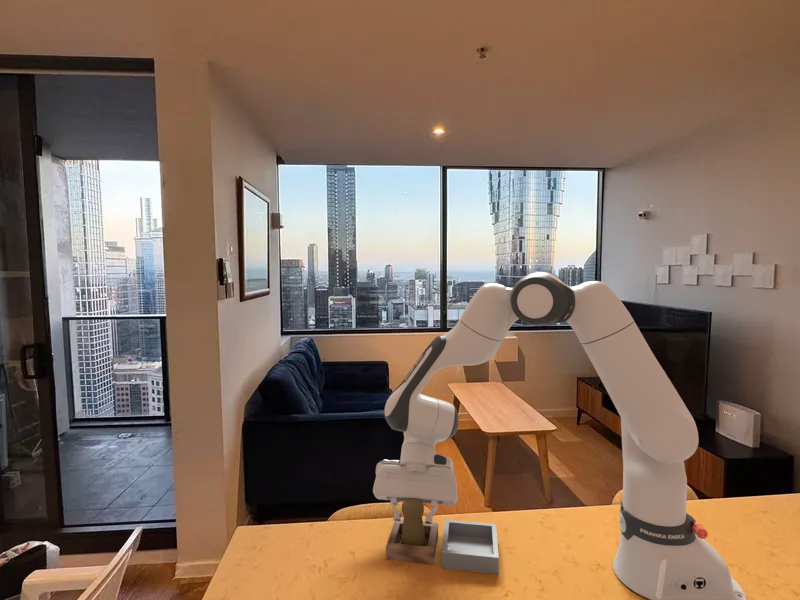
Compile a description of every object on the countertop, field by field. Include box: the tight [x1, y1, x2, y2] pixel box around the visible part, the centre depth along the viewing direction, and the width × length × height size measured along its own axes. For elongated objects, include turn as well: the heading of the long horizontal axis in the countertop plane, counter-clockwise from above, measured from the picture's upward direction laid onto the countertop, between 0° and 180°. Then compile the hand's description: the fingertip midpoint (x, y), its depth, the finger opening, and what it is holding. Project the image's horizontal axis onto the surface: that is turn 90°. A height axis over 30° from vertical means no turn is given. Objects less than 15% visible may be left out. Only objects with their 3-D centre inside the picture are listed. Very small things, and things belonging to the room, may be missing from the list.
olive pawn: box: [400, 498, 427, 546], centre depth 97 cm, size 6×6×11 cm
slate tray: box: [440, 519, 500, 575], centre depth 95 cm, size 12×12×4 cm
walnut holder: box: [385, 519, 439, 566], centre depth 97 cm, size 11×11×3 cm
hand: (412, 521), depth 96 cm, fingers open, 6 cm apart
